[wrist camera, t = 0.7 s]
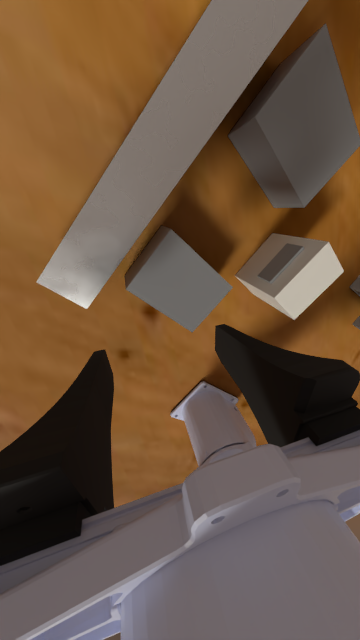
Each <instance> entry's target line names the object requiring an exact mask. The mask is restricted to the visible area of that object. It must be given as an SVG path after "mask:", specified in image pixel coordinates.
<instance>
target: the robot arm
mask: <svg viewBox="0 0 360 640" xmlns="http://www.w3.org/2000/svg"><path fill="white" fill-rule="evenodd" d="M215 351H216V353H217V355H218V357H219V359H220V361H221V362H222V364H223V365H224V367H225V368H226V370H227V371H228V373H229V374H230V376H231V377H232V378H233V380H234V381H235V383H236V384H237V385H238V387H239V388H240V390H241V392H242V393H243V395H244V397H245V399H246V400H247V402H248V404H249V406H250V408H251V410H252V412H253V413H254V415H255V417H256V419H257V421H258V423H259V425H260V427H261V429H262V431H263V433H264V436H265V438H266V440H267V442H268V444H265V445H260V446H257V447H256V441H255V437H254V435H253V433H252V431H251V430H250V428H249V426H248V425H247V423H246V421H245V420H244V418H243V416H242V415H241V413H240V411H239V410H238V408H237V406H236V405H235V404H236V403H237V402H238V398H236V397H234V396H232V395H230V394H228V393H226V392H224V391H222V390H220V389H218V388H216V387H214V386H212V385H210V384H208V383H206V382H204V381H203V382H201V383H199V385H198V386H197V387H196V388H195V389H194V390H193V391H192V392H191V393H190V394H189V395H188V396H187V397H186V398H185V399H184V400H183V401H182V402H181V403H180V404H179V405H178V406H177V407H176V408H175V409H174V410H173V411H172V412H171V413H170V415H171V417H174V418H177V419H180V420H183V421H185V424H186V427H187V431H188V434H189V437H190V440H191V443H192V446H193V450H194V453H195V456H196V459H197V462H198V466H199V467H198V468H197V469H196V470H194V471H193V472H192V473H191V474H190V475H189V476H188V477H186V479H185V481H184V483H182V484H179V485H176V486H173V487H171V488H168V489H165V490H162V491H160V492H157V493H154V494H151V495H149V496H146V497H143V498H141V499H138V500H135V501H132V502H130V503H127V504H124V505H121V506H119V507H116V508H114V501H113V484H112V463H111V418H112V406H113V393H114V382H113V373H112V370H111V367H110V364H109V360H108V357H107V354H106V351H105V350H100V351H95V352H94V353H93V354H92V356H91V357H90V359H89V360H88V362H87V364H86V365H85V367H84V368H83V370H82V371H81V373H80V374H79V375H78V377H77V378H76V380H75V381H74V382H73V384H72V385H71V386H70V388H69V389H68V390H67V391H66V393H65V394H64V395H63V396H62V397H61V398H60V399H59V400H58V402H57V403H56V404H55V405H54V406H53V407H52V408H51V409H50V410H49V411H48V412H47V413H46V414H45V415H44V416H43V417H42V418H40V419H39V420H38V421H37V422H36V423H35V424H34V425H33V426H32V427H31V428H29V429H28V430H27V431H26V432H25V433H24V434H22V435H21V436H20V437H19V438H17V439H16V440H15V441H14V442H12V443H11V444H10V445H9V446H7V447H6V448H5V449H3V450H2V451H1V452H0V640H103V639H105V638H108V637H110V636H113V635H115V634H117V633H120V632H121V640H360V542H359V541H358V539H357V538H356V537H355V535H354V534H353V533H352V531H351V530H350V528H349V527H348V526H347V524H346V523H345V521H347V520H348V519H350V518H352V517H354V516H356V515H358V514H359V513H360V409H358V408H357V407H356V406H357V405H358V403H357V401H355V400H354V399H353V398H352V395H353V393H354V391H355V389H356V388H357V386H358V383H359V381H360V374H359V371H357V370H356V369H354V368H353V367H351V366H350V365H348V364H347V363H346V362H344V361H342V360H336V359H328V358H321V357H315V356H310V355H305V354H300V353H296V352H292V351H288V350H285V349H281V348H278V347H275V346H272V345H269V344H267V343H264V342H262V341H259V340H257V339H255V338H252V337H250V336H248V335H246V334H244V333H242V332H240V331H238V330H236V329H234V328H232V327H230V326H227V325H225V324H222V325H217V326H216V331H215Z"/></svg>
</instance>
